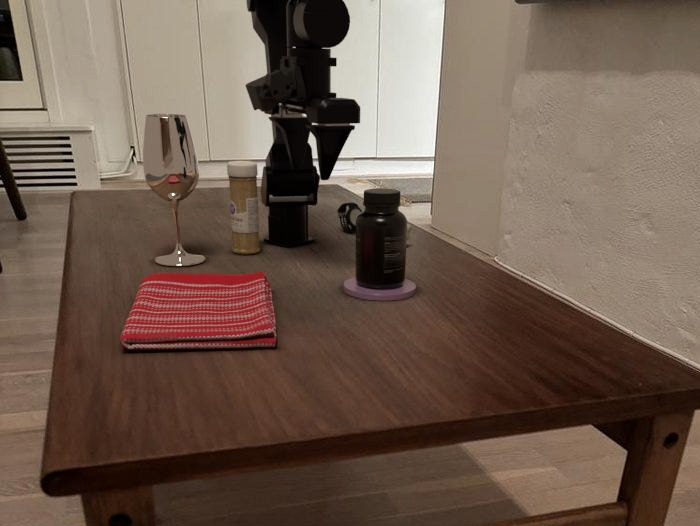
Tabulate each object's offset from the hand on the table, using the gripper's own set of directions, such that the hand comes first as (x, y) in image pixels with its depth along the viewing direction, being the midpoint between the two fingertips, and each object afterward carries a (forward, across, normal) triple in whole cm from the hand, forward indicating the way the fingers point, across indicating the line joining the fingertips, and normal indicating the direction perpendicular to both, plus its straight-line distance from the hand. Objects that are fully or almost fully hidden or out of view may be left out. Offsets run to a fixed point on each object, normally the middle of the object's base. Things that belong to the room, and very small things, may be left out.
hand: (310, 175), depth 105 cm
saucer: (+13, +15, +3) cm, 20 cm away
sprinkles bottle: (+13, -13, -5) cm, 19 cm away
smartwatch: (+13, -20, +18) cm, 30 cm away
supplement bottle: (+12, +15, +3) cm, 19 cm away
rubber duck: (+13, -6, +18) cm, 23 cm away
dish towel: (+13, +16, -22) cm, 31 cm away
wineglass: (+13, -12, -17) cm, 24 cm away
